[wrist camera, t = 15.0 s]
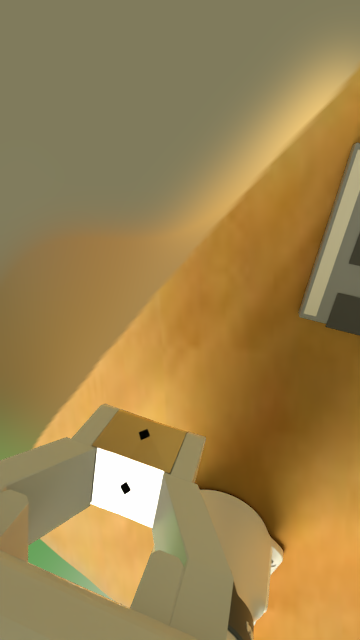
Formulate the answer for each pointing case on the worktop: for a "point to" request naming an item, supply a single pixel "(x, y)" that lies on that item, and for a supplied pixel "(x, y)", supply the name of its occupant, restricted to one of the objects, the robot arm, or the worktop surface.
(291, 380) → the worktop surface
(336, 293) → the panel
